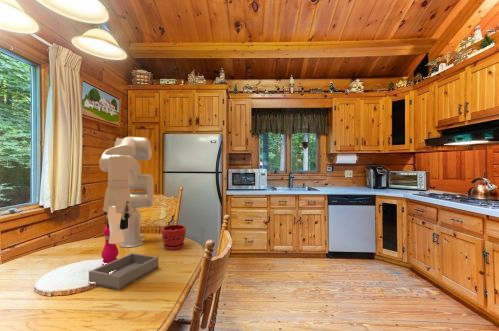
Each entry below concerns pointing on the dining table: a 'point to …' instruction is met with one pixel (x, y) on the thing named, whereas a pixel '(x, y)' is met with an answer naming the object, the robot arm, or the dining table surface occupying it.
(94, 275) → the tote
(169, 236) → the plant pot
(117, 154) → the robot arm
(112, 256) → the pepper mill
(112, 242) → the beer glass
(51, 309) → the dining table surface
